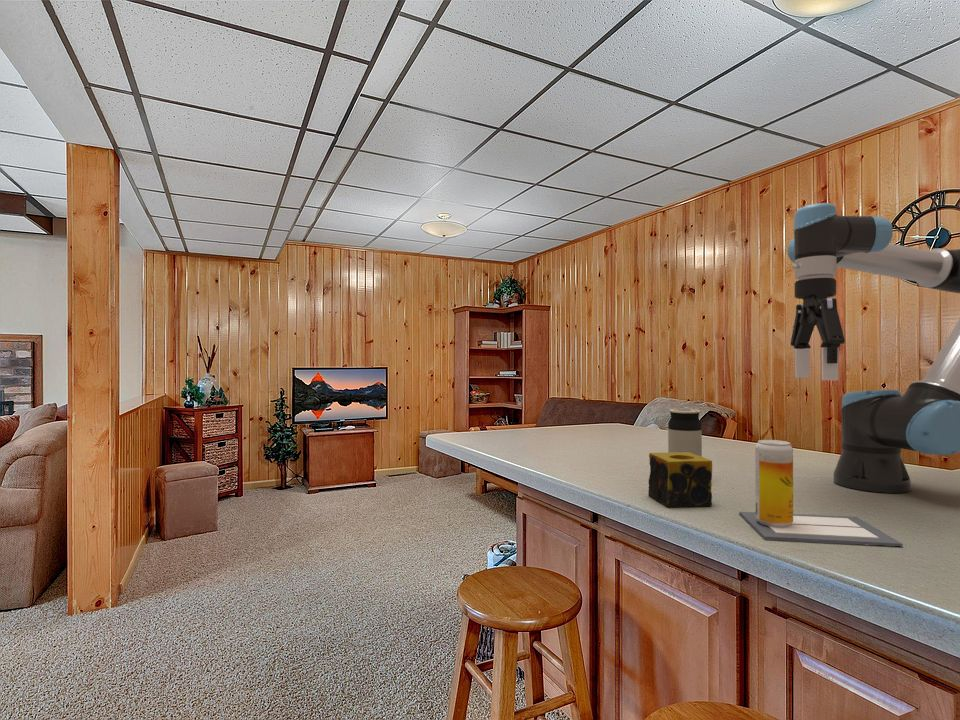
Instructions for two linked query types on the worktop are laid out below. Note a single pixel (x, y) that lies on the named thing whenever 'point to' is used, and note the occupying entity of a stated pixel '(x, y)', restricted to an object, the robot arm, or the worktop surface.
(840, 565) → the worktop surface
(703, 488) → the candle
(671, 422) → the travel mug
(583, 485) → the worktop surface
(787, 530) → the blotter
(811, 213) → the robot arm
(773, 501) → the beer can
